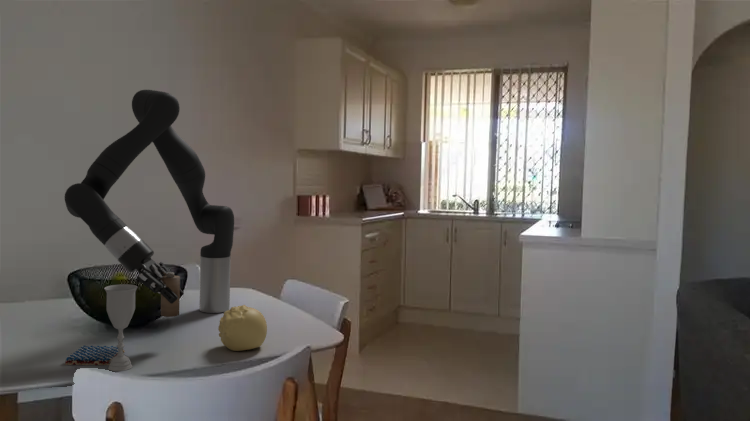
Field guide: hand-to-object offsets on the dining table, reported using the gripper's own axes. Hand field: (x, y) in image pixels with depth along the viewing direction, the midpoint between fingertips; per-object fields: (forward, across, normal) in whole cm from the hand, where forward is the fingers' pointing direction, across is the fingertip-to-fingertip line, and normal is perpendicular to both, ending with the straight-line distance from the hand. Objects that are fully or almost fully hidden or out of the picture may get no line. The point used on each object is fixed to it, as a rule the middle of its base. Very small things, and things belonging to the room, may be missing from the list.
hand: (178, 298), depth 149 cm
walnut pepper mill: (+2, 0, +4) cm, 5 cm away
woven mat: (-2, -10, +20) cm, 23 cm away
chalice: (+3, -16, +14) cm, 22 cm away
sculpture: (+20, +1, -2) cm, 20 cm away
